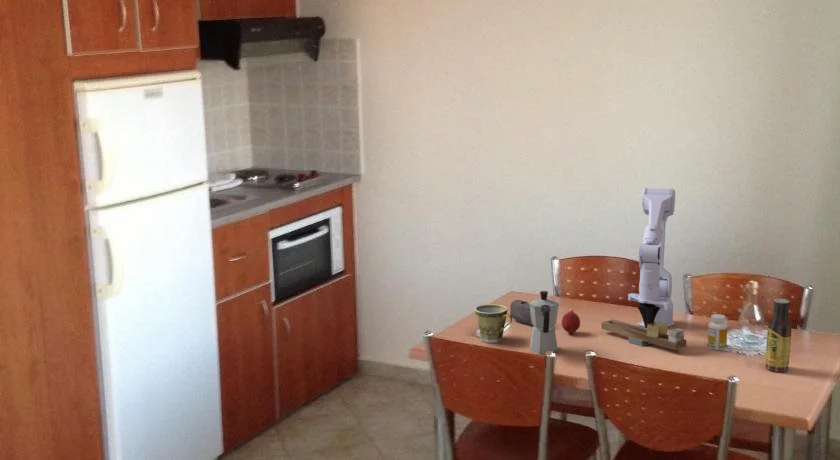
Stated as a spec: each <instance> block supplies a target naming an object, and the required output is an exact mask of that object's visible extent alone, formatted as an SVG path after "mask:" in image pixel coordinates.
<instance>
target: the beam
mask: <svg viewBox="0 0 840 460" xmlns="http://www.w3.org/2000/svg"><path fill="white" fill-rule="evenodd" d="M601 329H602V330H605V331H609V332H611V333H615V334H619V335H622V336H625V337H628V340H627V341H628V343H629V344H632V345H635V346H639V347H644V346H647V345H650V344H654V345H657V346H660V347H663V348H667V349H671V350H675V351H676V350H680V349H682V348H686V347H687V339H685V329H682V328H678V327H677V328H673V329H670V330H669V331H668V333H667V334H666V335H663V338H662V337H655V336H651V335H648V334H647V328H645V327H643V326H639V325H635V324H630V323H626V322H623V321H619V320H616V319H613V318H612V319H608V320H606V321H605V320H604V321H602V322H601Z"/></svg>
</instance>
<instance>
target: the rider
mask: <svg viewBox="0 0 840 460" xmlns="http://www.w3.org/2000/svg"><path fill="white" fill-rule="evenodd" d="M667 325H668V324H666V323H662V322H658V321H655V322H652V323H649V324H647V328H646V329H647V334H648V335H651V336H655V337H662V338H663V335H666V334H667V335H668V327H667Z"/></svg>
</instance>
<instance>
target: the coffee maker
mask: <svg viewBox="0 0 840 460" xmlns="http://www.w3.org/2000/svg"><path fill="white" fill-rule="evenodd" d="M539 294H540V298H539V299H535V300H532V301H531V302H528V303H529V307H530V314H531V322H532V324H533V325H534V326H532V333H531V338H530V339H531V340H530V344H529V345H530V346H529V350H531V351H534V352H537V353H539V354H538V355H544V354H543V353H546V352H547V351H553V352H555V353H558V352H559V349H558V343H557V342H558V341H557V335H556V330H555V326H556V324H557V320H558V313H559V306H560V304H559V303H560V302H557V301H555V299H554V300H553V299H548V295H549V292H548V291H547V290H541V291H539ZM531 351H530V352H531ZM555 353H554V354H555Z"/></svg>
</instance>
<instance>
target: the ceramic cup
mask: <svg viewBox="0 0 840 460" xmlns="http://www.w3.org/2000/svg"><path fill="white" fill-rule="evenodd" d="M474 313H475V317H476V321H477V324H478V331H479V335H480V340H481V342H484V343H488V344H498V343H499V342H502V341H503V336H504V330H505V329H506V327H507V326H509V325H511V324H512V322H513V318H512V317H511V315H510V313H508V307H507V306H505V305H502V304H494V303H493V304H492V303H491V304H489V303H487V304H481V305H478V306H476V307H475V308H474ZM507 317H508V318H509V319H510V321H509V322H508V323H507V324H506V321H507Z"/></svg>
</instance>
